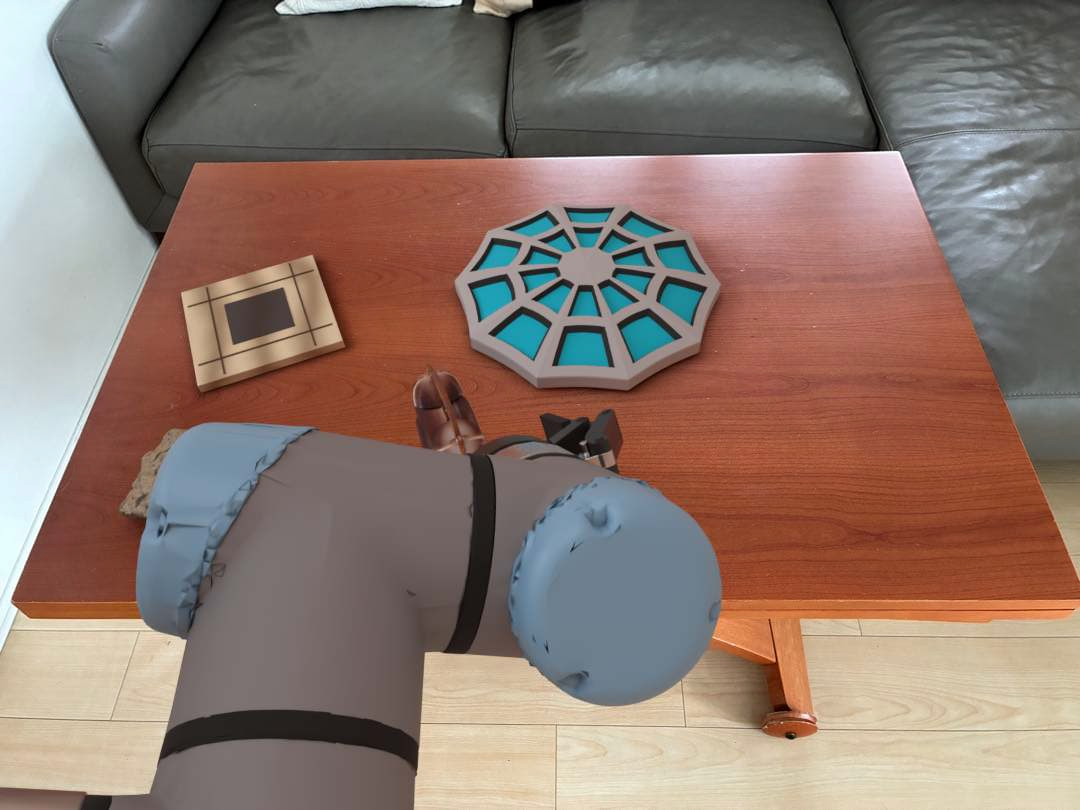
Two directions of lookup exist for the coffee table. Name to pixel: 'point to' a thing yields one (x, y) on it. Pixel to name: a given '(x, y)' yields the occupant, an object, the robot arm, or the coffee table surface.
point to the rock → (148, 478)
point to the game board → (259, 323)
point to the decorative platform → (587, 296)
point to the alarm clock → (445, 414)
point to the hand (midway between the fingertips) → (468, 458)
